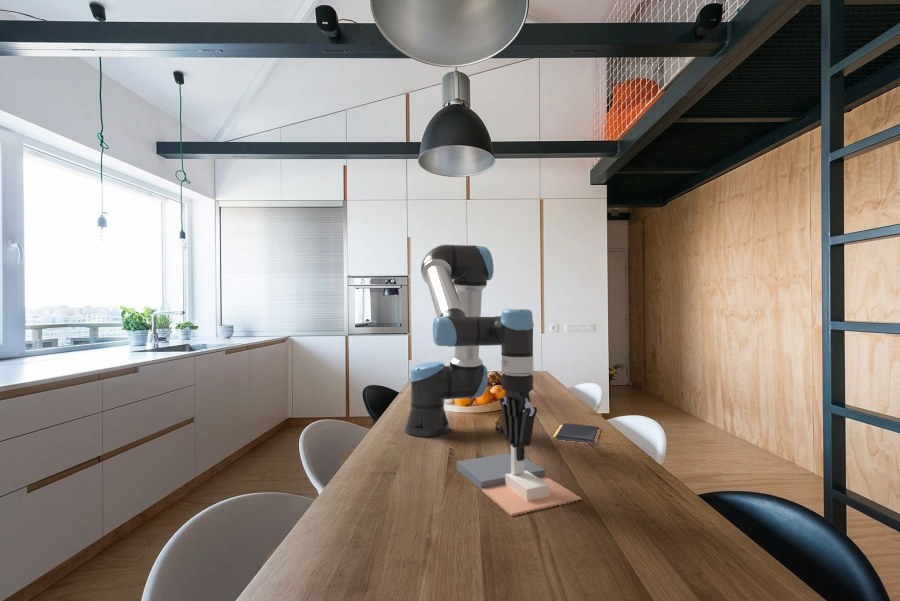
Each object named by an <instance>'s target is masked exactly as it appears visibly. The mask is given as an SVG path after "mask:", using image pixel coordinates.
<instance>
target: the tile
mask: <svg viewBox="0 0 900 601" xmlns="http://www.w3.org/2000/svg"><path fill="white" fill-rule="evenodd" d="M505 485H506V486H507V487H509V488H510V489H511V490H513V491H514V492H515V493H517V494H518V495H519V496H521V497H522V498H523V499H525V500H526V501H530V500H534V499H539V498H544V497H548V496H550V492H549V484H547V483H546V482H544V481H542V480H541V479H539V478H538V477H536V476H535V475H533V474H531V473H530V472H528V471H524V473H521V474H515V475H514V474H513V473H510V474H505Z"/></svg>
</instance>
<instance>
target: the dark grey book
mask: <svg viewBox="0 0 900 601" xmlns="http://www.w3.org/2000/svg"><path fill="white" fill-rule="evenodd" d="M562 424H563V425H560V426H559V425H558V426H559V428H558V427H557V428H558V429H557V428H556V429H557V430H556V429H555V430H556V432H555V431H554V432H555V433H554V432H553V433H554V435H553V434H552V435H553V437H555V439H557V440H565V441H575V442H585V443H592V444H595V443H596V442H594V439H595V436H596V433H597V430H598V429H601V428H599V427H598V426H594V425H585V424H575V423H566V422H565V423H562ZM553 439H554V438H553ZM557 440H556V441H557Z"/></svg>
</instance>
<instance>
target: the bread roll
mask: <svg viewBox="0 0 900 601" xmlns="http://www.w3.org/2000/svg"><path fill="white" fill-rule="evenodd" d="M494 424H495V428H494V429H495V431H497V432H498V433H500V434H503V435H505V432H504V423H503V415H502V414H501V416H499V418H498V419H497V420H496V421H495V422H494Z"/></svg>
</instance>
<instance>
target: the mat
mask: <svg viewBox="0 0 900 601" xmlns="http://www.w3.org/2000/svg"><path fill="white" fill-rule="evenodd" d="M539 479H541V480H542V481H544V482H546V483H547V484H549V492H550V496H548V497H544V498H539V499H534V500H530V501H526V500H525V499H523V498H522V497H521V496H519V495H518V494H517V493H515V492H514V491H513V490H511V489H510V488H509V487H507V486H506V485H505V484H503V485H498V486H492V487H487V488H482V490H481V492H482V493H484V494H485V495H486V496H487V497H488V498H489V497H490V500H491V501H493V502H494V503H497V504H496V505H497V506H499V507H500V508H501V510H503V511H505V512H506V513H507V514H508V515H509V516H510V517H514V516H515V517H516V516H518V515H519V514H520V515H522V514H523V513H524V514H528V513H527V512H529V513H531V512H530V511H533V512H536V511H535V510H537V511H540V509H542V510H544V509H545V508H546V509H549V508H548V507H550V508H554V507H553V506H555V507H557V506H556V505H559V506H563V505H566V503H568V504H570V503H569V502H572V503H574V502H573V501H576V500H580V499H581V500H582V497H581V496H579V495H577V494H575V492H572V491H570V490H569V489H567V488H566V487H564V486H562V485H561V484H559V482H556V481H554V480H553V479H551V478H549V477H547V476H546V475H545V476H544V477H539ZM576 502H577V501H576ZM562 504H563V505H562Z"/></svg>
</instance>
